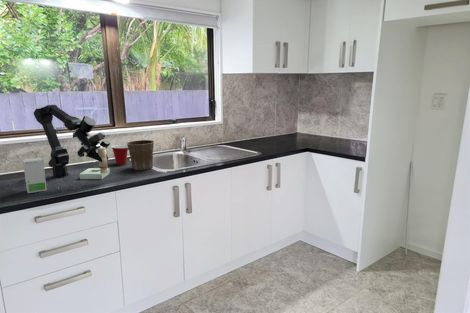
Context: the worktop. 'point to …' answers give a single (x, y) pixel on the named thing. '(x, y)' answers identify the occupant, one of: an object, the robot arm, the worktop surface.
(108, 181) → the worktop surface
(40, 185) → the skincare box
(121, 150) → the plastic cup
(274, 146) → the worktop surface
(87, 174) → the socket board
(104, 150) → the ash peg
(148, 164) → the plant pot
